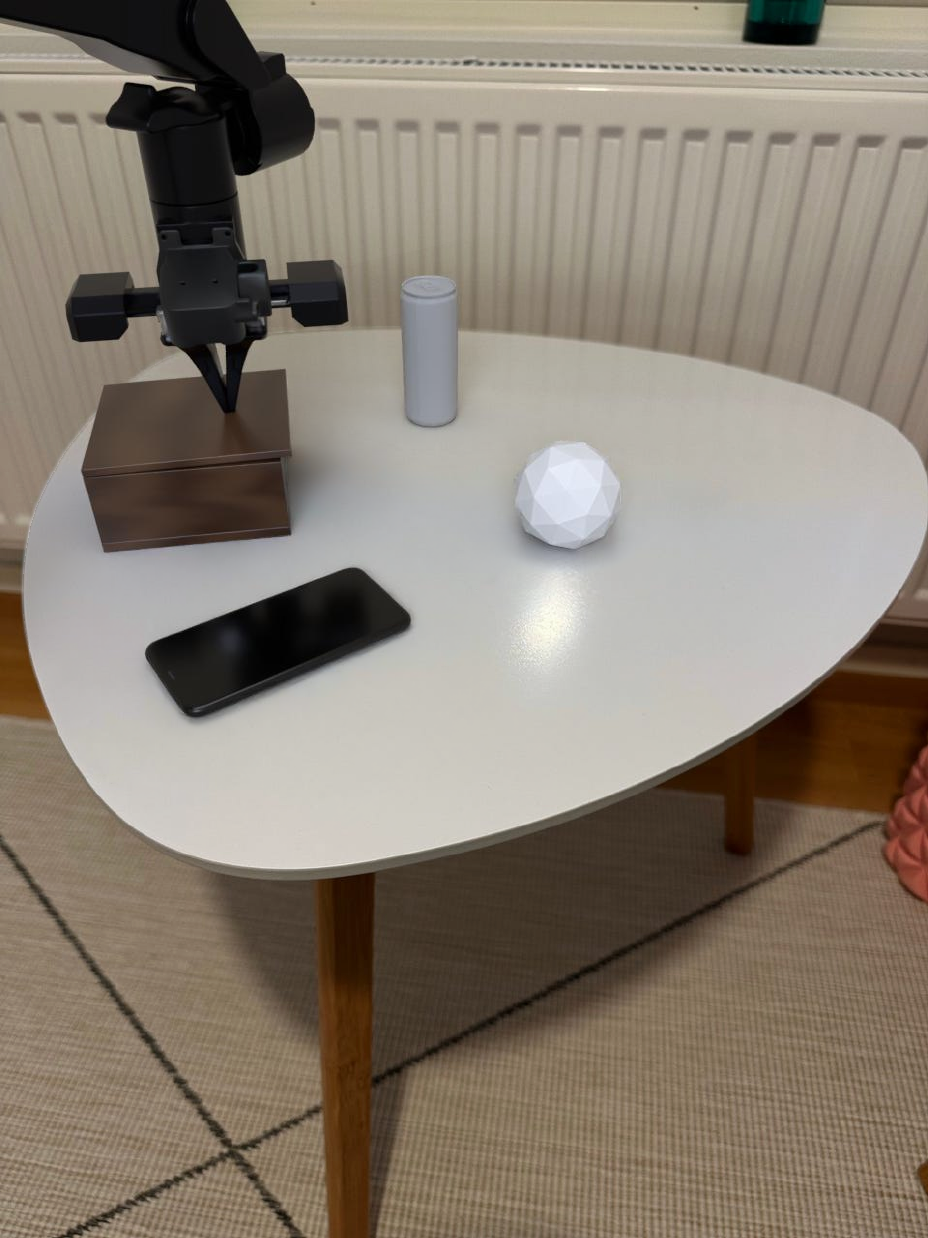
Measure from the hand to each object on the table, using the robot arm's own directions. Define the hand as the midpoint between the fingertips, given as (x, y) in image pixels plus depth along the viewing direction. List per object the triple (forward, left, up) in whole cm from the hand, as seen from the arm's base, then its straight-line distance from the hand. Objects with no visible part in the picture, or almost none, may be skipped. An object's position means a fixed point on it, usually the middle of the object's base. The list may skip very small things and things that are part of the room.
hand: (229, 410), depth 74 cm
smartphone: (+3, -20, -7) cm, 21 cm away
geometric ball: (+24, -11, -7) cm, 27 cm away
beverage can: (+17, +10, -7) cm, 21 cm away
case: (-3, 0, -7) cm, 8 cm away
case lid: (-3, 0, -1) cm, 3 cm away
